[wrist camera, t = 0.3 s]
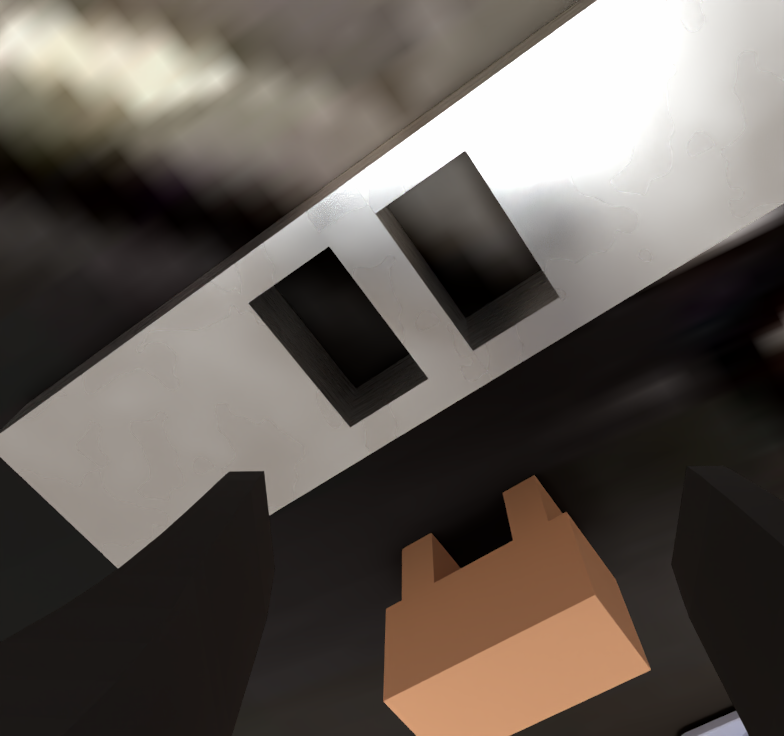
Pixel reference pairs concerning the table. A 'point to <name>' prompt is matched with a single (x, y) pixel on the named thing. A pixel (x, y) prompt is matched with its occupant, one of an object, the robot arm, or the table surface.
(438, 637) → the orange block
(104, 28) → the table surface
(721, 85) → the rail
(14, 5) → the table surface
